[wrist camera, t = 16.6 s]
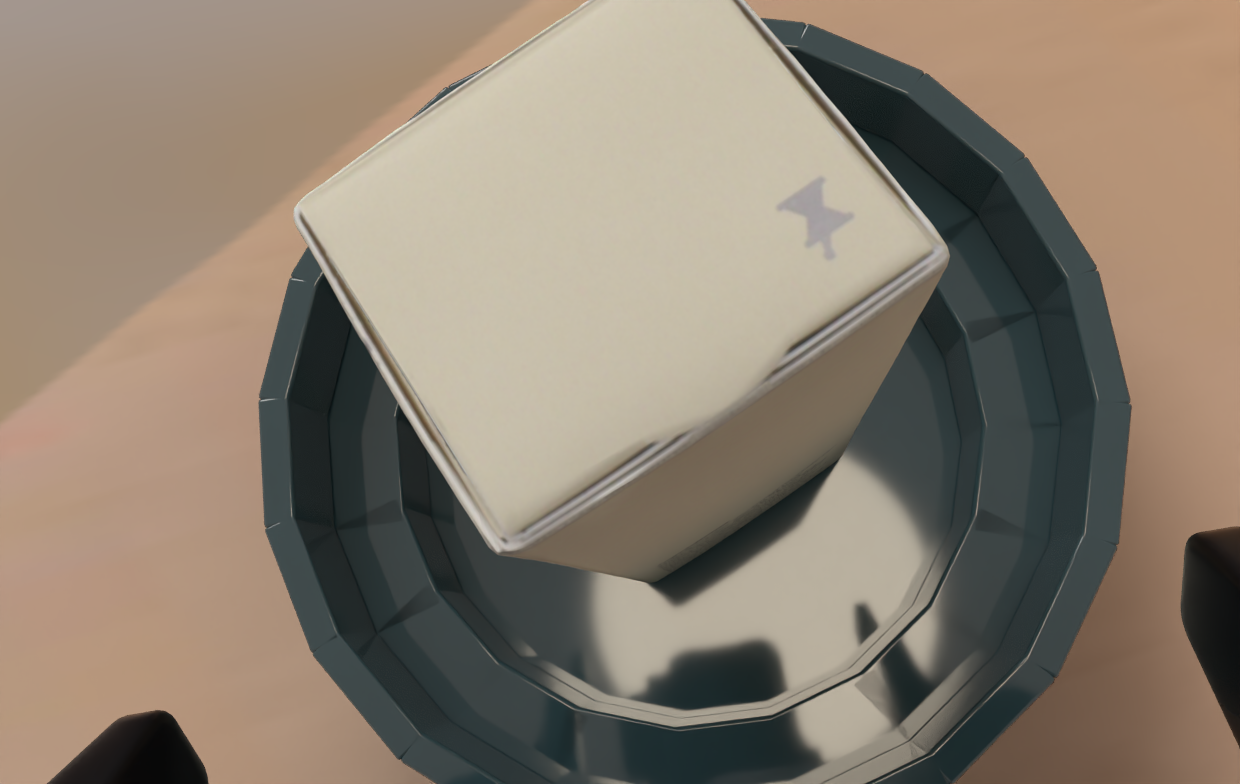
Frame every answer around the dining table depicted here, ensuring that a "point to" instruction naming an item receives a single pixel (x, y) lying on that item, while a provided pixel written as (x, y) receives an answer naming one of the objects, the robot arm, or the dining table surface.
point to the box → (628, 281)
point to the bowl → (760, 550)
